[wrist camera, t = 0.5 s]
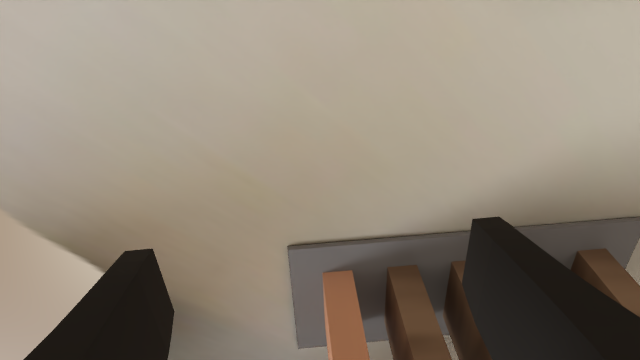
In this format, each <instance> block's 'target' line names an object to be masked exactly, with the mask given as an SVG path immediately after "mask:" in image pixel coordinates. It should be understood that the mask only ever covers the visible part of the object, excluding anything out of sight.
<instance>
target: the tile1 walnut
mask: <svg viewBox="0 0 640 360" xmlns="http://www.w3.org/2000/svg"><path fill="white" fill-rule="evenodd" d="M571 271H573V272H574V273H575V274H577V275H578V276H580V277H581V278H582V279H584V280H585V281H587V282H588V283H589V284H591V285H592V286H594V287H595V288H597V289H598V290H600V291H601V292H602V293H604V294H605V295H607V296H608V297H610V298H611V299H613V300H614V301H616V302H617V303H619V304H621V305H622V306H624V307H625V308H627V309H628V310H630V311H631V312H633V313H634V314H636V315H637V316H639V317H640V286H639V285H638V283H637V282H636V281H635V280H634V279H633V278H632V277H631V276H630V275H629V273H628V272H627V271H626V270H625V269H624V268H623V267H622V266H621V265H620V264H619V262H618V261H617V260H616V259H615V258H614V257H613V256H612V255H611V254H610V252H609V251H608V250H607V249H606V248H604V249H593V250H581V251H577V253H576V256H575V259H574V262H573V264H572V267H571Z"/></svg>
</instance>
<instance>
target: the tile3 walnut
mask: <svg viewBox="0 0 640 360" xmlns="http://www.w3.org/2000/svg"><path fill="white" fill-rule="evenodd" d="M465 261H466V260H465ZM465 261H453V262H451V268H450V274H449V280H448V286H447V292H446V298H445V304H444V310H443V319H444V321H445V324H446V326H447V329H448V332H449V334H450V337H451V339H452V342H453V345H454V347H455V350H456V352H457V355H458V358H459V360H492V358H491V356H490V354H489V352H488V350H487V348H486V346H485V343H484V341H483V339H482V337H481V335H480V333H479V331H478V329H477V326H476V324H475V322H474V319H473V316H472V313H471V310H470V307H469V304H468V301H467V298H466V295H465V292H464V289H463V286H462V279H463V273H464V267H465Z"/></svg>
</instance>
